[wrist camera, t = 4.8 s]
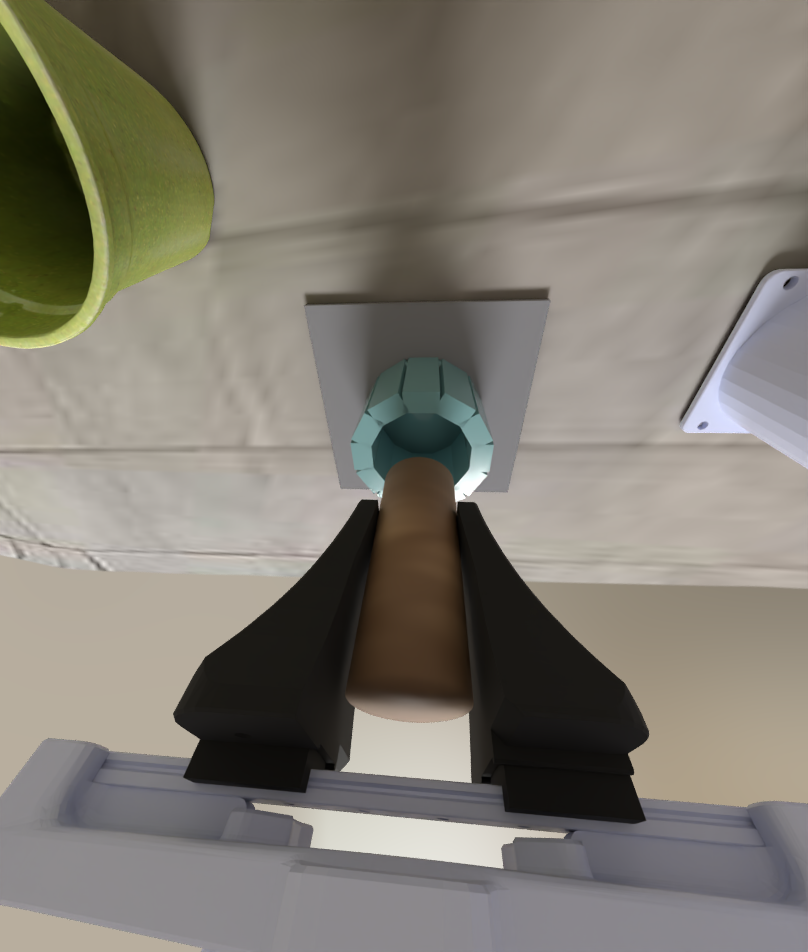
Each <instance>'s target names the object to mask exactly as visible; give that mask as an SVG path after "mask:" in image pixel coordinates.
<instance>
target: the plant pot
mask: <svg viewBox="0 0 808 952" xmlns="http://www.w3.org/2000/svg"><path fill="white" fill-rule="evenodd" d="M213 206H214V194H213V187H212V183H211V179H210V175H209V171H208V168H207V165H206V163H205V160H204V158H203V155H202V153H201V150H200V148H199V146H198V144H197V142H196V140H195V139H194V137H193V135H192V133H191V132H190V130H189V128H188V127H187V125H186V124H185V123H184V121H183V120H182V118H181V117H180V115H179V114H178V113H177V112H176V110H175V109H174V108H173V106H172V105H171V104H170V103H169V102H168V101H167V100H166V99H165V98H164V97H163V96H162V95H161V94H160V93H159V92H158V91H157V90H156V89H155V88H154V87H153V86H152V85H151V84H149V83H148V82H147V81H146V80H144V79H143V78H142V77H141V76H139V75H138V74H137V73H136V72H134V71H133V70H132V69H131V68H129V67H128V66H127V65H126V64H124V63H123V62H122V61H120V60H119V59H118V58H116V57H115V56H114V55H113V54H111V53H110V52H109V51H107V50H106V49H105V48H104V47H102V46H101V45H100V44H98V43H97V42H96V41H94V40H93V39H92V38H91V37H89V36H88V35H87V34H85V33H84V32H83V31H82V30H80V29H79V28H78V27H77V26H75V25H74V24H73V23H71V22H70V21H69V20H68V19H66V18H65V17H64V16H63V15H61V14H60V13H59V12H58V11H56V10H55V9H54V8H53V7H51V6H50V5H49V4H48V3H46V2H45V1H44V0H0V345H1V346H7V347H14V348H26V349H28V348H42V347H48V346H53V345H56V344H59V343H62V342H65V341H67V340H69V339H71V338H74V337H75V336H77V335H79V334H81V333H82V332H83V331H85V330H86V329H87V328H88V327H90V326H91V325H92V324H93V322H94V321H95V320H96V318H97V317H98V316H99V314H100V313H101V312H102V310H103V308H104V306H105V304H106V303H107V302H109V301H110V300H111V299H112V298H113V296H114V295H115V294H116V293H117V292H118V291H120V290H122V289H124V288H127V287H129V286H131V285H133V284H136V283H138V282H140V281H142V280H144V279H146V278H148V277H151V276H153V275H155V274H158V273H160V272H162V271H164V270H167V269H169V268H172V267H174V266H176V265H179V264H181V263H183V262H185V261H187V260H190V259H191V258H193V257H194V256H196V255H197V254H198V253H199V252H201V251H202V249H203V248H204V247H205V246H206V244H207V242H208V240H209V237H210V228H211V221H212V214H213Z"/></svg>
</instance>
